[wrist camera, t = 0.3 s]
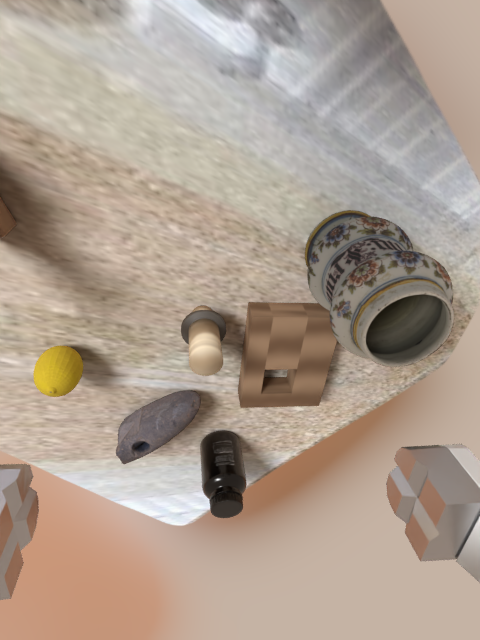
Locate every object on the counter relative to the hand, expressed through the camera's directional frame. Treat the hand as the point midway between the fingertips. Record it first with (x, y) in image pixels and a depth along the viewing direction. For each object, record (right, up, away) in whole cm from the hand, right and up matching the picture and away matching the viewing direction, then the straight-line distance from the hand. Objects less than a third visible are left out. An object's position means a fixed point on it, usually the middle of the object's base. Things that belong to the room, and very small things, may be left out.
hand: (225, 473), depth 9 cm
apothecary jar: (+13, +12, +41) cm, 45 cm away
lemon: (-23, -1, +45) cm, 50 cm away
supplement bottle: (-3, -17, +59) cm, 62 cm away
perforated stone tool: (-12, -10, +53) cm, 55 cm away
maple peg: (-5, +4, +44) cm, 44 cm away
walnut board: (+7, -1, +49) cm, 49 cm away
